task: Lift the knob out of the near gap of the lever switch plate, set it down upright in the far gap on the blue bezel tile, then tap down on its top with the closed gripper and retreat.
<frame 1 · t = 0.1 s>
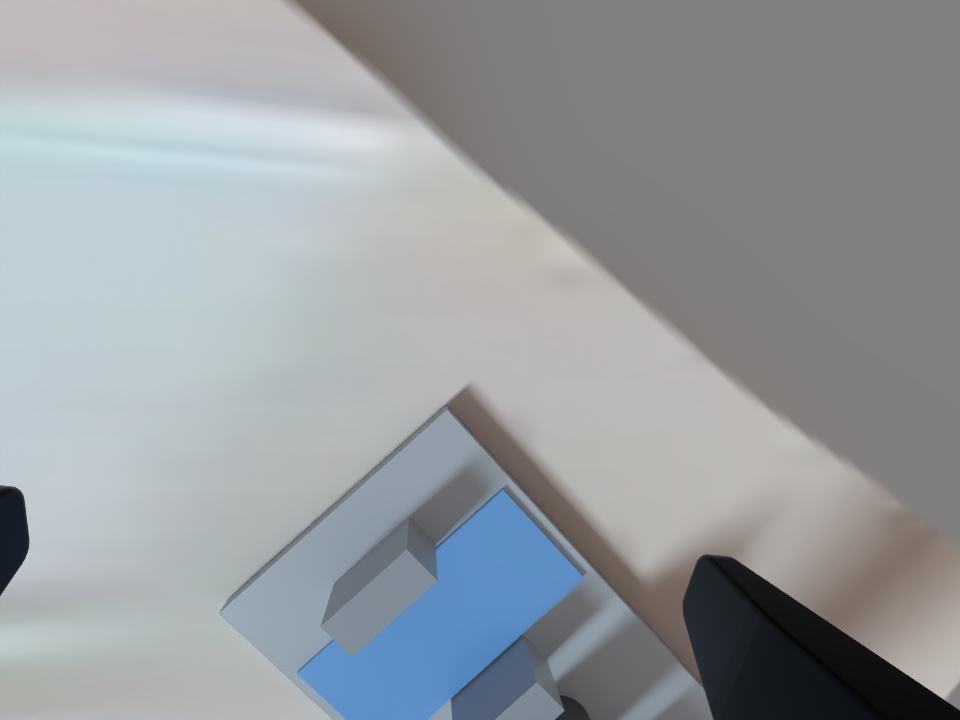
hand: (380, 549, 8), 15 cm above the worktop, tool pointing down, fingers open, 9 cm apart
lever switch plate: (495, 663, 24), on the worktop
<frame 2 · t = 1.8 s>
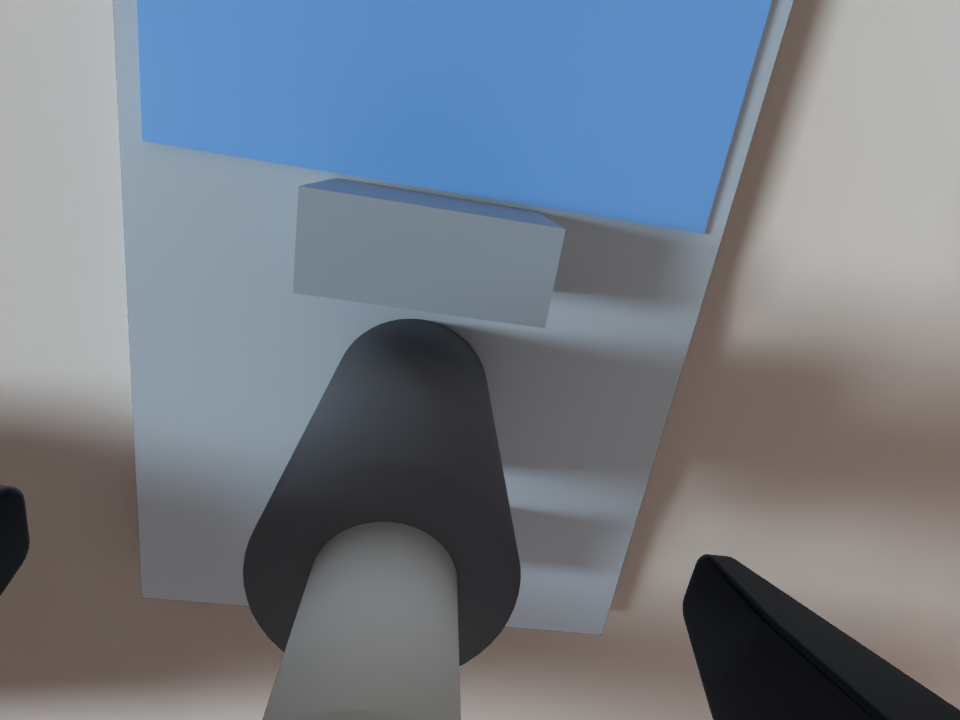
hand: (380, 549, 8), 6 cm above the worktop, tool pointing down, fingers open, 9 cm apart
knob: (411, 391, 13), point 1 cm above the worktop, touching lever switch plate
lever switch plate: (433, 228, 12), on the worktop
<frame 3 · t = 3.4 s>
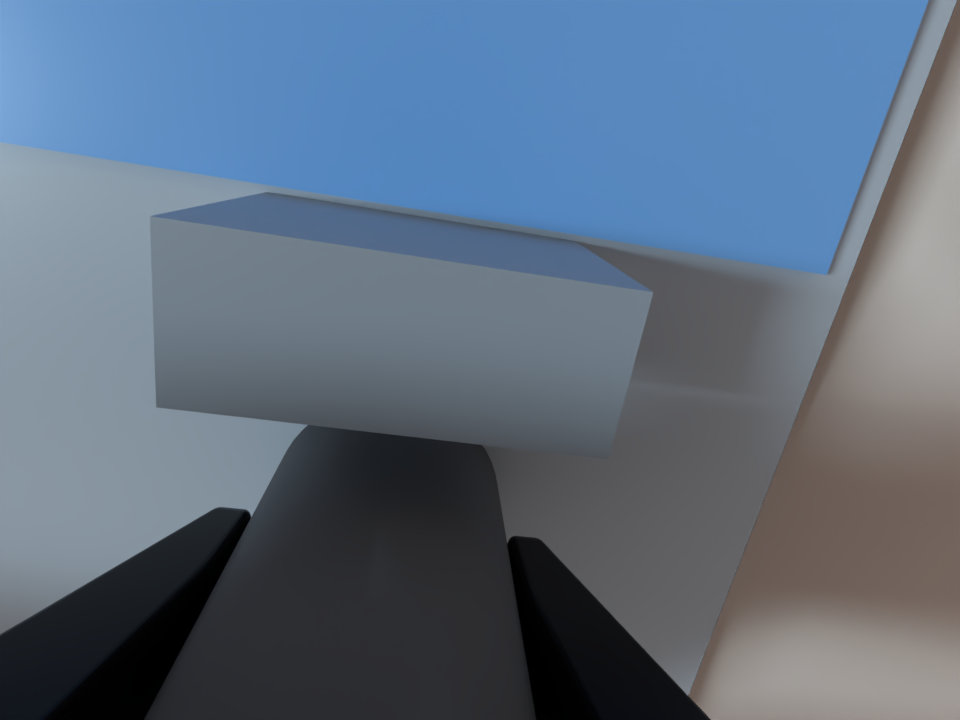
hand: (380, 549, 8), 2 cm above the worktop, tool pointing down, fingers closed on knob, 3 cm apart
knob: (388, 498, 9), point 1 cm above the worktop, touching lever switch plate, gripper
lever switch plate: (420, 263, 8), on the worktop
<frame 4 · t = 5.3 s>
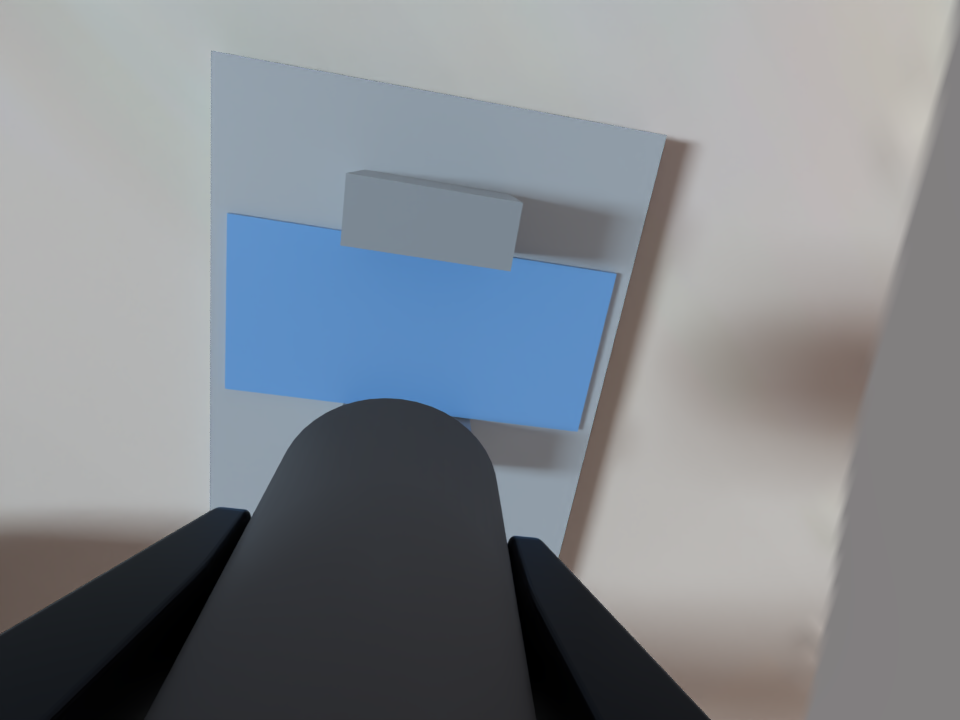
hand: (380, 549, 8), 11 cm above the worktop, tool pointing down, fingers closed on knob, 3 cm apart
knob: (388, 498, 9), point 10 cm above the worktop, touching gripper
lever switch plate: (406, 419, 19), on the worktop
when the fingers open (3 cm above the worktop, at t = 7.2 s): knob stays where it is, resting on lever switch plate.
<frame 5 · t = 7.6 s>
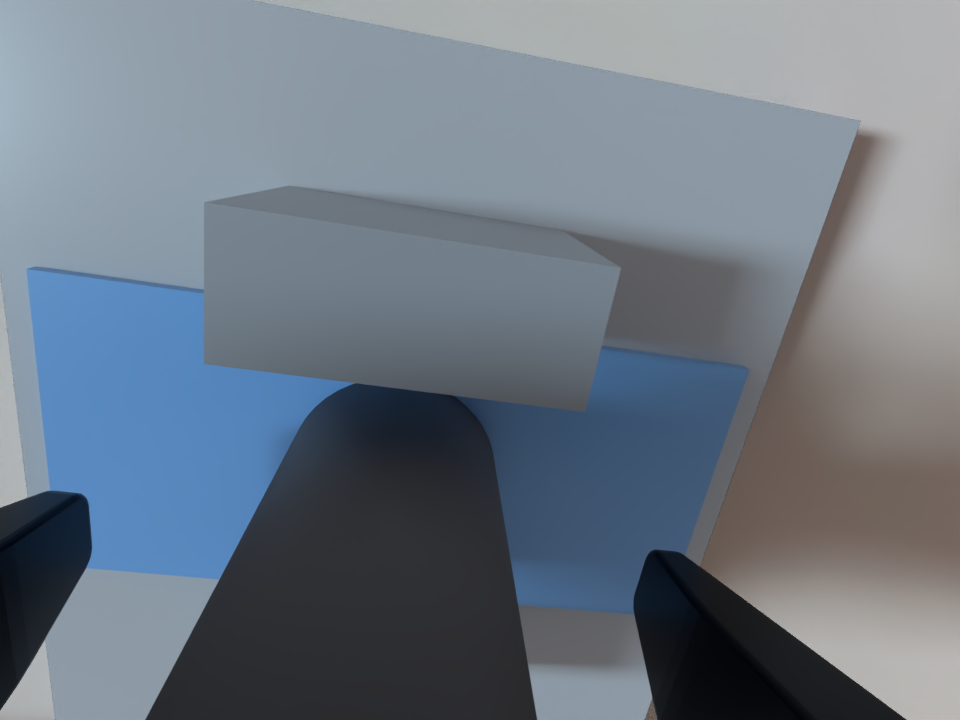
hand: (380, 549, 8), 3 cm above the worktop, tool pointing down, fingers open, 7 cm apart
knob: (393, 471, 9), point 1 cm above the worktop, touching lever switch plate
lever switch plate: (380, 585, 12), on the worktop
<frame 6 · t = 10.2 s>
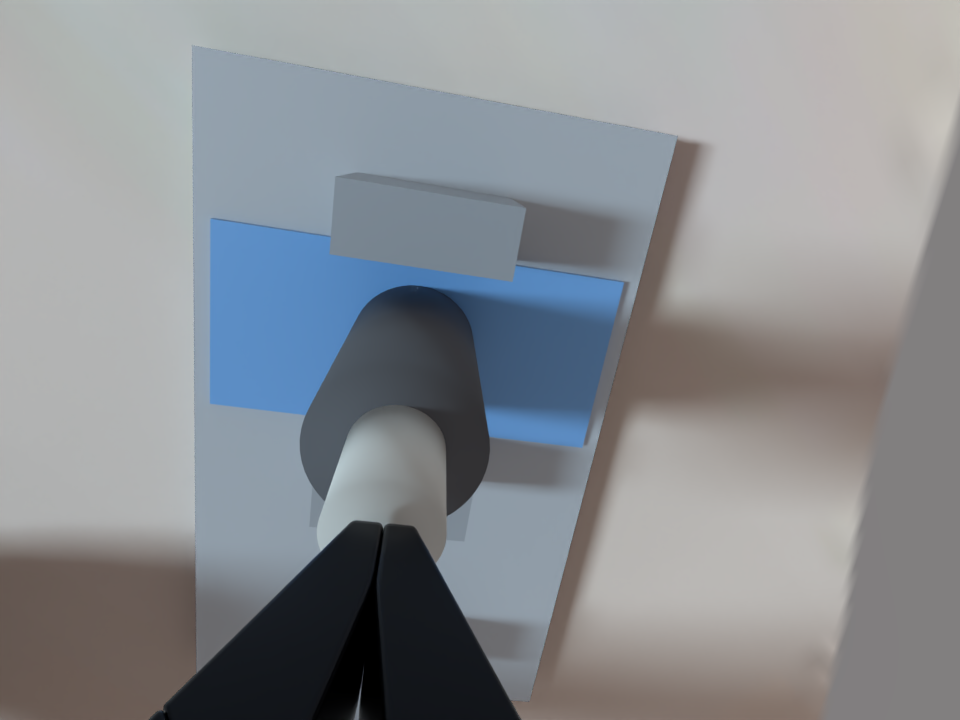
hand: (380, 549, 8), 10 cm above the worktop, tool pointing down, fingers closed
knob: (413, 344, 16), point 1 cm above the worktop, touching lever switch plate
lever switch plate: (402, 434, 18), on the worktop
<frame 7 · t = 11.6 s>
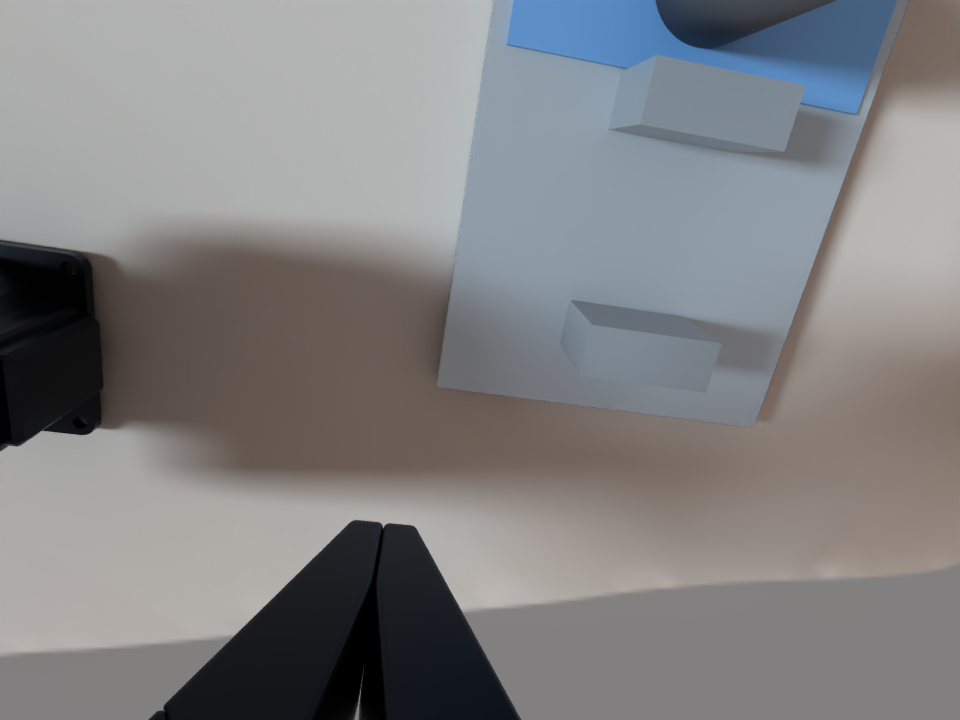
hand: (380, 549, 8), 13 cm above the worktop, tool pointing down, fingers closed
lever switch plate: (664, 115, 18), on the worktop
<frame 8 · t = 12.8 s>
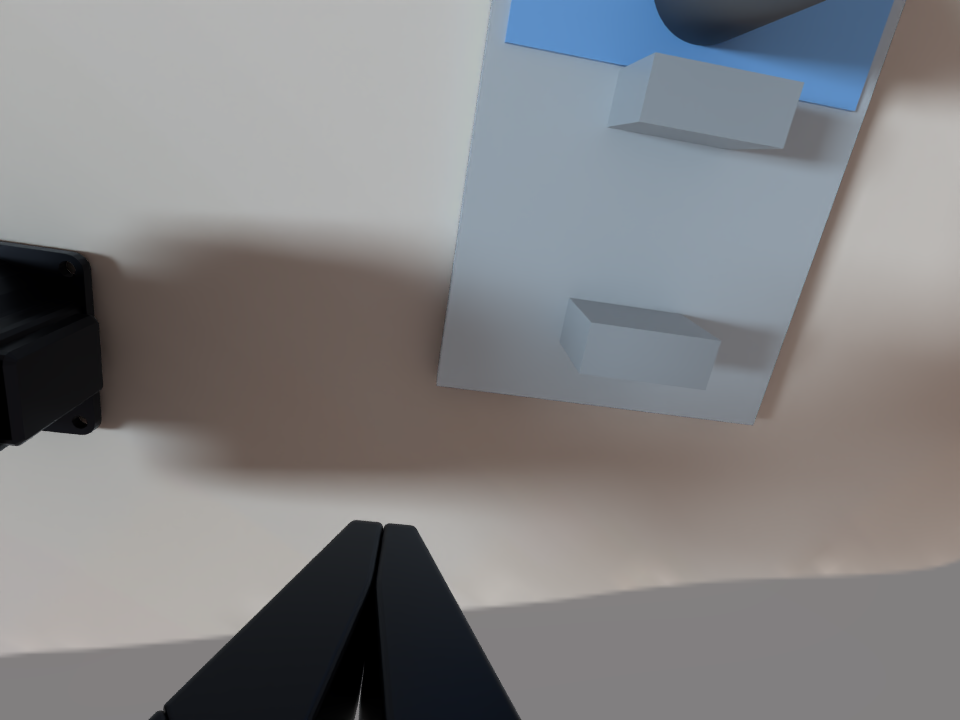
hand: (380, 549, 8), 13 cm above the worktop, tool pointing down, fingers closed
lever switch plate: (663, 113, 18), on the worktop
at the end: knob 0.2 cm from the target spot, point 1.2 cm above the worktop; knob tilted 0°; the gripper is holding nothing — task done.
